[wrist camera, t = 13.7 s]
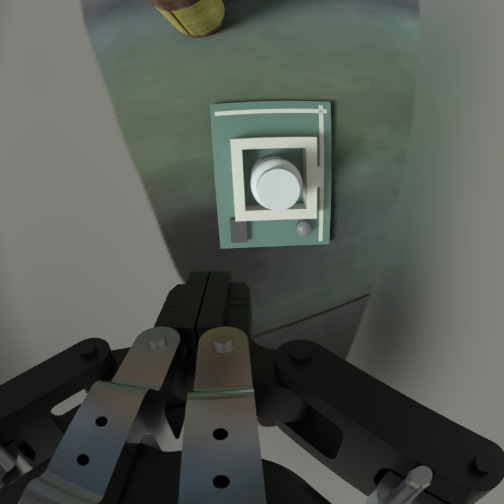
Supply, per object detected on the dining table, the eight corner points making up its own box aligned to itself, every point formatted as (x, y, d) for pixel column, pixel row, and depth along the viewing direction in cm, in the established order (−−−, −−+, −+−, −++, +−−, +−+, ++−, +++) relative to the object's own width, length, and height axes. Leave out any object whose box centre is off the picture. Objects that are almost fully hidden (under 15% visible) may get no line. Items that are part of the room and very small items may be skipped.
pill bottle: (300, 189, 36) (314, 209, 28) (258, 202, 37) (260, 225, 29) (287, 148, 34) (298, 154, 26) (244, 161, 35) (242, 172, 27)
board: (211, 105, 33) (206, 102, 30) (328, 102, 33) (335, 100, 29) (221, 245, 40) (218, 256, 37) (327, 241, 40) (333, 251, 37)
